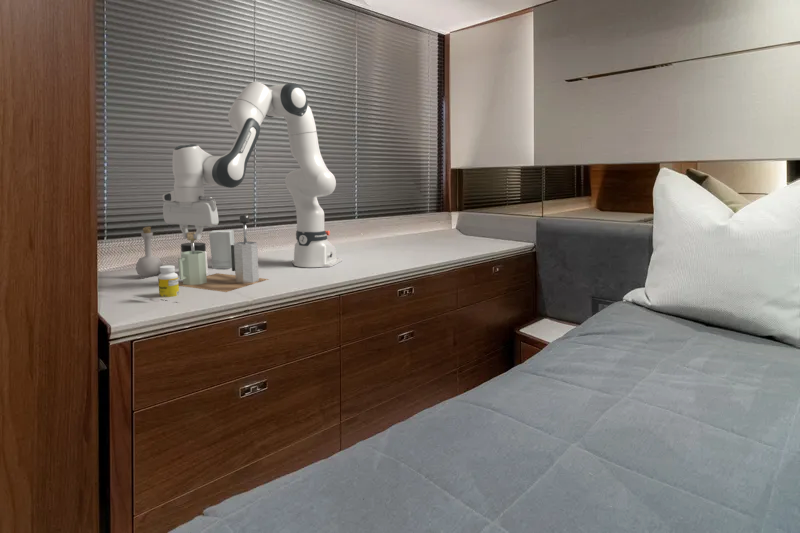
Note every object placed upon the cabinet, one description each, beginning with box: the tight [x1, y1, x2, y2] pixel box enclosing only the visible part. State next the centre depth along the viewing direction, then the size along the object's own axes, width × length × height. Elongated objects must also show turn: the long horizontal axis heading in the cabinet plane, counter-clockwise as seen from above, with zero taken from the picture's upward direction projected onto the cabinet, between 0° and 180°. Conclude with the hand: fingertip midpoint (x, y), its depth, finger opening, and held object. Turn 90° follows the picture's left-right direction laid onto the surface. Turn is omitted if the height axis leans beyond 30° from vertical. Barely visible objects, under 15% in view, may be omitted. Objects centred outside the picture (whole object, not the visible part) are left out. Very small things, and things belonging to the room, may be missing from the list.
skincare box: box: [208, 229, 236, 270], centre depth 194 cm, size 8×6×15 cm
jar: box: [180, 241, 209, 275], centre depth 177 cm, size 9×8×12 cm
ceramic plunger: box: [186, 231, 197, 254], centre depth 162 cm, size 5×5×10 cm
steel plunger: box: [239, 214, 250, 244], centre depth 164 cm, size 5×5×11 cm
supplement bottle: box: [157, 265, 180, 302], centre depth 146 cm, size 5×5×10 cm
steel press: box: [231, 240, 260, 284], centre depth 166 cm, size 7×10×13 cm
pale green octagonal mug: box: [177, 251, 207, 285], centre depth 162 cm, size 10×7×10 cm
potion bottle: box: [135, 226, 164, 280], centre depth 175 cm, size 9×9×18 cm
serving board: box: [178, 272, 270, 293], centre depth 165 cm, size 21×23×1 cm
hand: (192, 238), depth 161 cm, fingers closed on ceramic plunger, 3 cm apart
